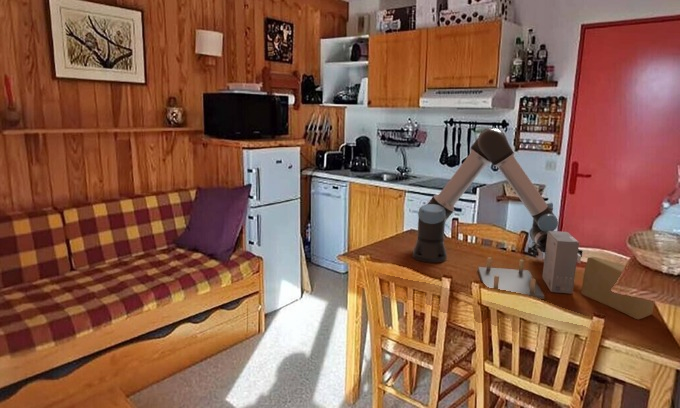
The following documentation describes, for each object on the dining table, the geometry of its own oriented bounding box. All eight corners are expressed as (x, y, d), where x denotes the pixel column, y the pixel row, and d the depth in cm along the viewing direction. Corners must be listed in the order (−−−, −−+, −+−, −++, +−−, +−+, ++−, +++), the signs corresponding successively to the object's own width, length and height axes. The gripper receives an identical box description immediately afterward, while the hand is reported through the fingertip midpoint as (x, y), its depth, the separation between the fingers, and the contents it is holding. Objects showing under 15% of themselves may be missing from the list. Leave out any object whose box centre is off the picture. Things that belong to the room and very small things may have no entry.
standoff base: (485, 294, 165) (487, 278, 164) (478, 270, 190) (479, 255, 189) (544, 299, 162) (546, 282, 160) (528, 273, 187) (530, 258, 185)
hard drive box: (573, 294, 167) (579, 242, 162) (550, 292, 168) (556, 241, 164) (561, 279, 182) (567, 231, 177) (541, 277, 183) (546, 229, 179)
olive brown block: (573, 296, 165) (578, 257, 162) (589, 291, 170) (595, 253, 167) (637, 321, 147) (644, 277, 143) (653, 314, 151) (660, 272, 148)
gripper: (576, 252, 192) (594, 270, 172) (514, 248, 196) (525, 265, 176) (578, 235, 190) (597, 251, 170) (516, 231, 195) (527, 246, 174)
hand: (560, 258), depth 173 cm, fingers open, 13 cm apart
